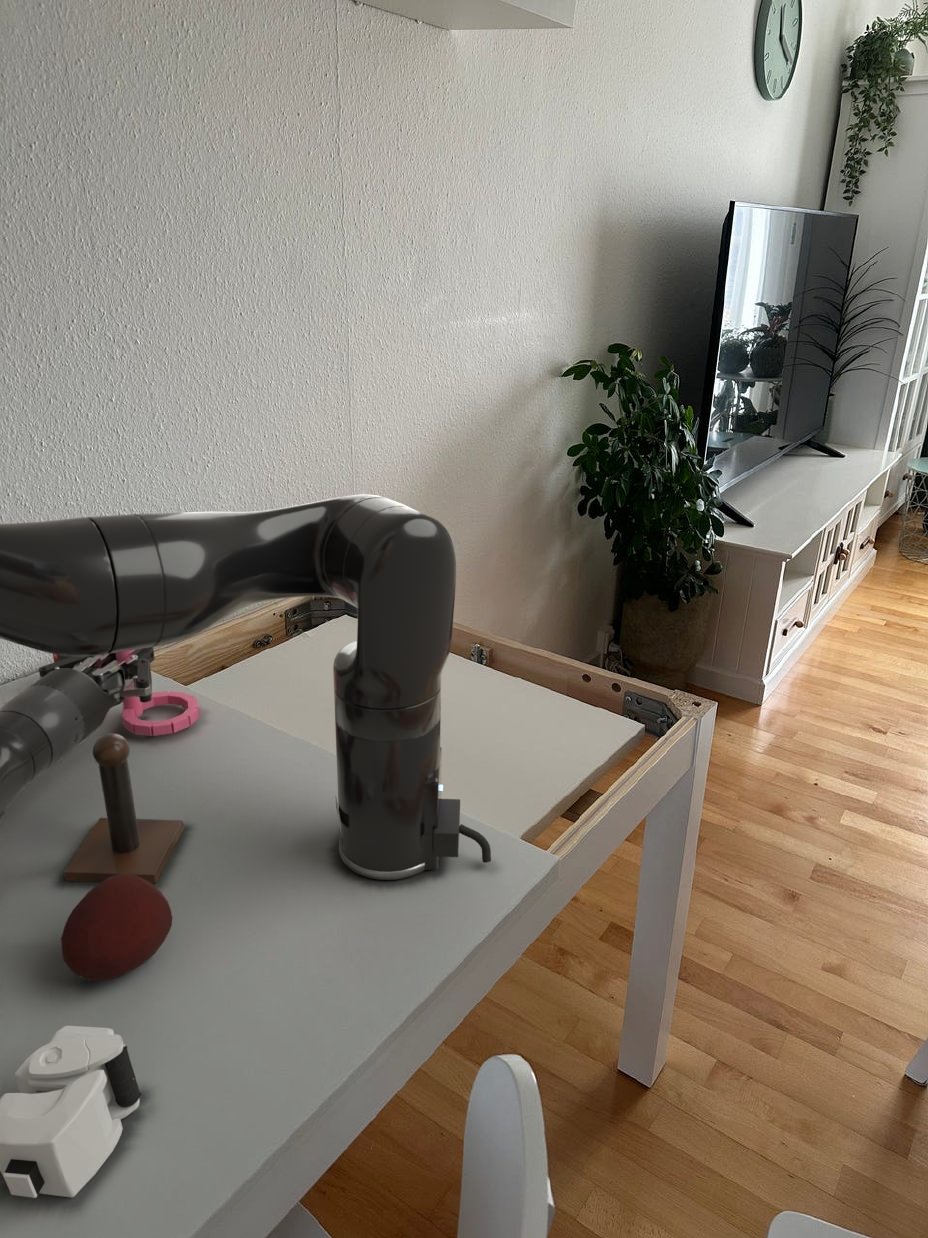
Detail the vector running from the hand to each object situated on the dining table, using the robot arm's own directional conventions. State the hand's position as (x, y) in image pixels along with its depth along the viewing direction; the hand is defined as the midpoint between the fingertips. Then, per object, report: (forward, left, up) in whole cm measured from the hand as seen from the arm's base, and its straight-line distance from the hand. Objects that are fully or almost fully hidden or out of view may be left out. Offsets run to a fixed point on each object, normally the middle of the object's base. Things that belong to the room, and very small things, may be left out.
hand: (139, 649), depth 105 cm
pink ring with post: (-3, +4, -7) cm, 8 cm away
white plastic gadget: (-15, +50, -4) cm, 53 cm away
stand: (-8, +28, -8) cm, 30 cm away
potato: (-13, +41, -8) cm, 44 cm away
